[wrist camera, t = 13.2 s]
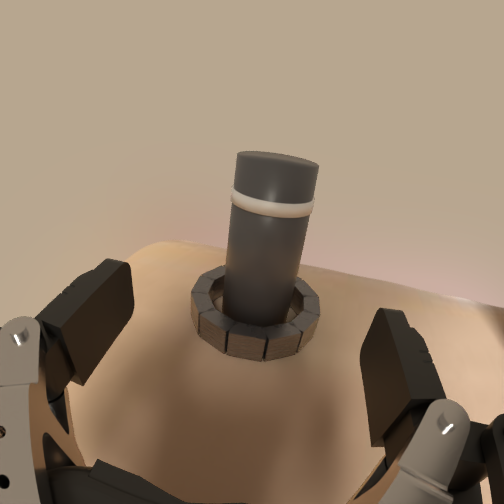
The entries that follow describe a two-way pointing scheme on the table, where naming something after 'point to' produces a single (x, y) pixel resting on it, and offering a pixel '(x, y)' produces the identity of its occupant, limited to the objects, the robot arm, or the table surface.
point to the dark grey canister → (266, 235)
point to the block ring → (246, 335)
